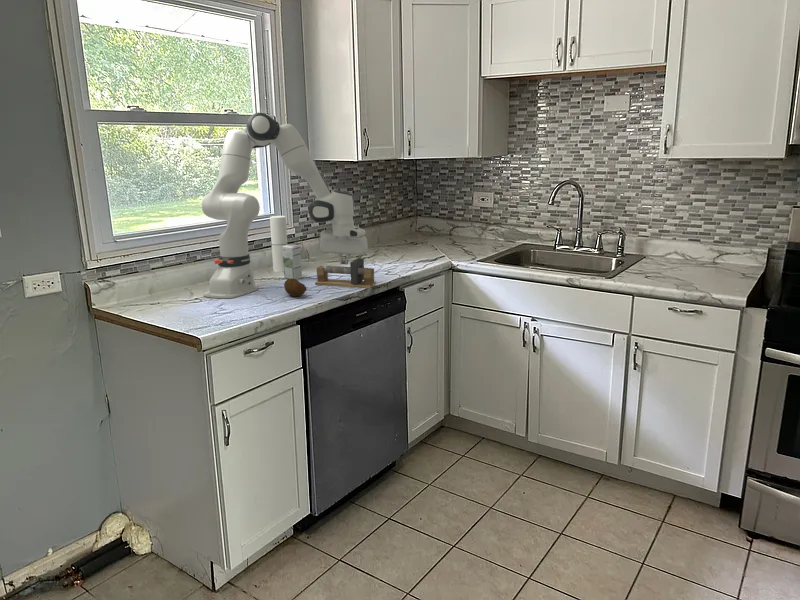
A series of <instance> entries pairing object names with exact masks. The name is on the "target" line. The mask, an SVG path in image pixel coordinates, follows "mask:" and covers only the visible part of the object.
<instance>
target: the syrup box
mask: <svg viewBox="0 0 800 600" xmlns="http://www.w3.org/2000/svg"><path fill="white" fill-rule="evenodd" d="M282 250H283V264H284V272H283V276H284V279H286V280H288V279H292V278H294V279H296V280H298V279H301V278H303V272H302V271H303V269H302V258H301V257H302V254H301V245H299V244H298V245H296V244H287V245H285V246H282Z"/></svg>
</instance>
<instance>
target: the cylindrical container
mask: <svg viewBox="0 0 800 600" xmlns="http://www.w3.org/2000/svg"><path fill="white" fill-rule="evenodd" d="M269 225H270V237H271V238H270V240H271V241H270V242H271V243H270V244H271V253H272V254H271V256H272V267H273V268H272V269H273V270H272V271H273V272H274V273H284V264H283V250H282V246H285V245H288V233H287V218H286V216H285V215H273V216H272V215H271V216H269Z"/></svg>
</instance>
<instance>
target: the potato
mask: <svg viewBox="0 0 800 600" xmlns="http://www.w3.org/2000/svg"><path fill="white" fill-rule="evenodd" d="M283 288H284V290H285V292H287V294H288V295H289V296H291V297H295V298H297V297H301V296H302V295H304V294H305V293H306V291H307V286H306V285H305V283H302V282H301V281H299V280H298V279H294V278H292V279H286V280H285V281H284V283H283Z"/></svg>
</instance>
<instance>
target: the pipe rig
mask: <svg viewBox="0 0 800 600" xmlns="http://www.w3.org/2000/svg"><path fill="white" fill-rule="evenodd" d="M329 274H339V275H351V271H350V266H339V265H337V266H336V265H319V266H317V267H316V282H315V285H316V286H329V287H341V286H342V287H343V288H356V287H358V288H359V289H371V288H372V287H373V285H374V286H375V285H376V284H377V281H375V268H372V267H364V268H358V275H364V280H363V281H361V282H359V283H358V284H351V279H341V278H340V279H339V278H329Z"/></svg>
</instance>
